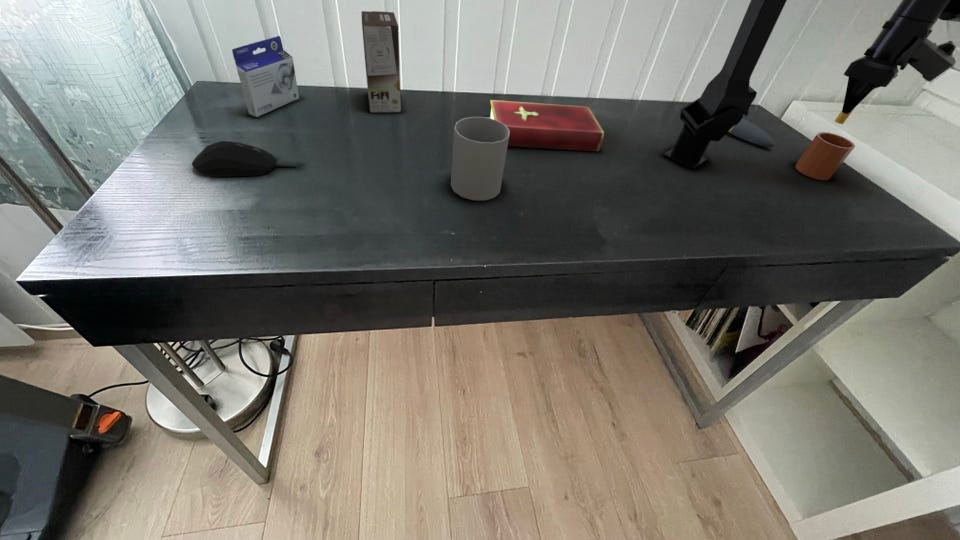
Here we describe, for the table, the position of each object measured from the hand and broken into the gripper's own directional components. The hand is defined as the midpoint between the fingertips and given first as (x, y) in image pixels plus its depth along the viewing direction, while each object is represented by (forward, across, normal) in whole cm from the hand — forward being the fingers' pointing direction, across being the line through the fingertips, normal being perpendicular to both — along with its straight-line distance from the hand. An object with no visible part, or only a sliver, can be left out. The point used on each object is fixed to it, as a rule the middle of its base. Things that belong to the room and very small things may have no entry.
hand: (846, 111), depth 78 cm
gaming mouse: (+11, -88, +60) cm, 107 cm away
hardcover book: (+12, -37, +41) cm, 56 cm away
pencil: (+2, 0, 0) cm, 2 cm away
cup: (+12, -61, +35) cm, 71 cm away
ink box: (+11, -75, +78) cm, 109 cm away
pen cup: (+12, +1, -1) cm, 13 cm away
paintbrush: (+12, +3, +18) cm, 22 cm away
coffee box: (+11, -56, +69) cm, 89 cm away
